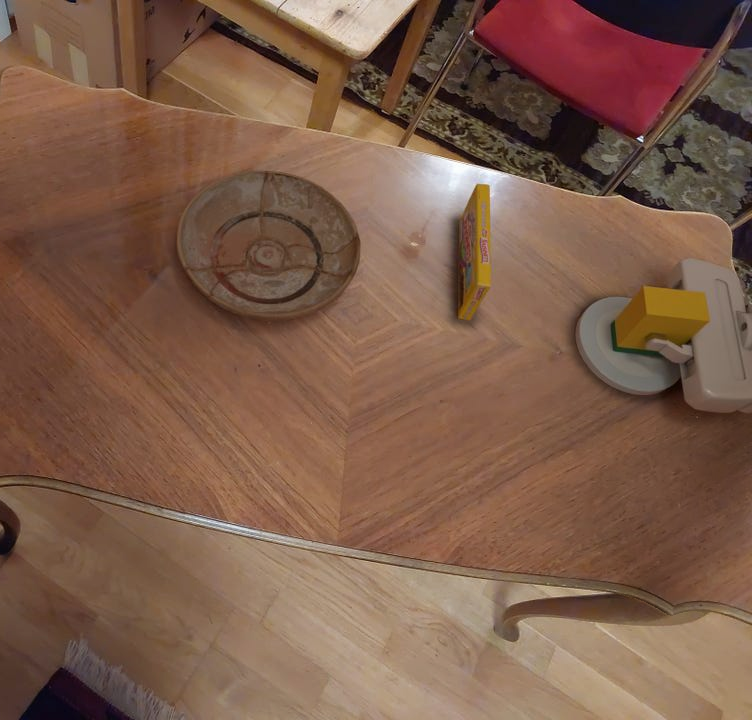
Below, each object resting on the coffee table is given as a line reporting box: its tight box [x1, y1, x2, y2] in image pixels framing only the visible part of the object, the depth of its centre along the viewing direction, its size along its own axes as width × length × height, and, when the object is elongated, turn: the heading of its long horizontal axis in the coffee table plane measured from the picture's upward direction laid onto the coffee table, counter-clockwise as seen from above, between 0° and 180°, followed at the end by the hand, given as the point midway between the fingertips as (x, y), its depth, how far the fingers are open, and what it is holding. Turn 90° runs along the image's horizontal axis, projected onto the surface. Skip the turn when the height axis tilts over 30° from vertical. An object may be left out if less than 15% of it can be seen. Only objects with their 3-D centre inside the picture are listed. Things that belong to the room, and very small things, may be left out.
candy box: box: [457, 183, 492, 321], centre depth 86 cm, size 16×2×8 cm, turn 172°
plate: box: [574, 296, 681, 396], centre depth 85 cm, size 14×14×1 cm
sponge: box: [611, 285, 710, 357], centre depth 80 cm, size 4×7×9 cm, turn 81°
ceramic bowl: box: [176, 170, 362, 322], centre depth 85 cm, size 23×24×5 cm
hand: (645, 321), depth 80 cm, fingers closed on sponge, 4 cm apart
